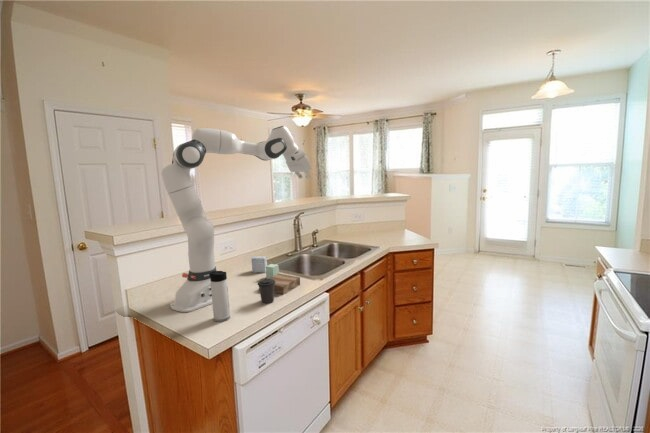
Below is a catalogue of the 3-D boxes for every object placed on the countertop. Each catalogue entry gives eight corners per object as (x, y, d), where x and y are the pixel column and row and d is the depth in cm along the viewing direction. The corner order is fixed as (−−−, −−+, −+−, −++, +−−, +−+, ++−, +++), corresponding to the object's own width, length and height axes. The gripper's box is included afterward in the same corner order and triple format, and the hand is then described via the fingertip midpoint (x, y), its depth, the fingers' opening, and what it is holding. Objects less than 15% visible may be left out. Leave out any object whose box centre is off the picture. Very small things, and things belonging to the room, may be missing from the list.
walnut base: (283, 294, 143) (283, 286, 142) (261, 289, 150) (260, 282, 149) (300, 284, 155) (299, 277, 154) (278, 280, 162) (278, 273, 161)
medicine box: (267, 270, 180) (266, 256, 178) (265, 272, 175) (264, 258, 174) (254, 270, 180) (253, 256, 179) (252, 272, 176) (251, 258, 175)
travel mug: (210, 320, 120) (205, 272, 117) (223, 313, 126) (219, 267, 123) (219, 324, 117) (215, 275, 114) (233, 317, 122) (229, 270, 119)
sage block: (273, 279, 163) (272, 267, 162) (266, 278, 166) (265, 266, 165) (279, 277, 167) (278, 264, 166) (272, 275, 170) (271, 263, 169)
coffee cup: (268, 306, 131) (266, 284, 129) (254, 302, 135) (253, 281, 133) (280, 299, 137) (279, 278, 136) (267, 296, 142) (265, 276, 140)
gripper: (280, 159, 165) (292, 180, 170) (296, 157, 148) (309, 181, 153) (289, 153, 168) (300, 175, 173) (306, 151, 150) (318, 174, 155)
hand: (304, 178), depth 163 cm, fingers open, 8 cm apart
